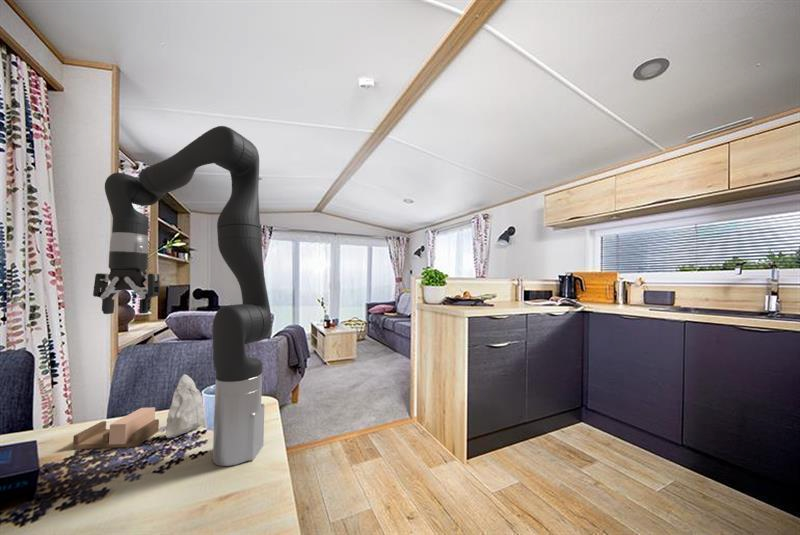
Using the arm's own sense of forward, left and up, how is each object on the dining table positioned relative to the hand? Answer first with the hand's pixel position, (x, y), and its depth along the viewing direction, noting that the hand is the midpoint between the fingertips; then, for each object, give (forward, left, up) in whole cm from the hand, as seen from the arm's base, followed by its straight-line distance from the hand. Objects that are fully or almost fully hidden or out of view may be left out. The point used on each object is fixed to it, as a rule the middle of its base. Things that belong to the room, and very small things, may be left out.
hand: (126, 313), depth 75 cm
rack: (-3, +4, -30) cm, 30 cm away
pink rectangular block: (-6, +3, -29) cm, 30 cm away
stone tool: (-17, +2, -30) cm, 35 cm away
